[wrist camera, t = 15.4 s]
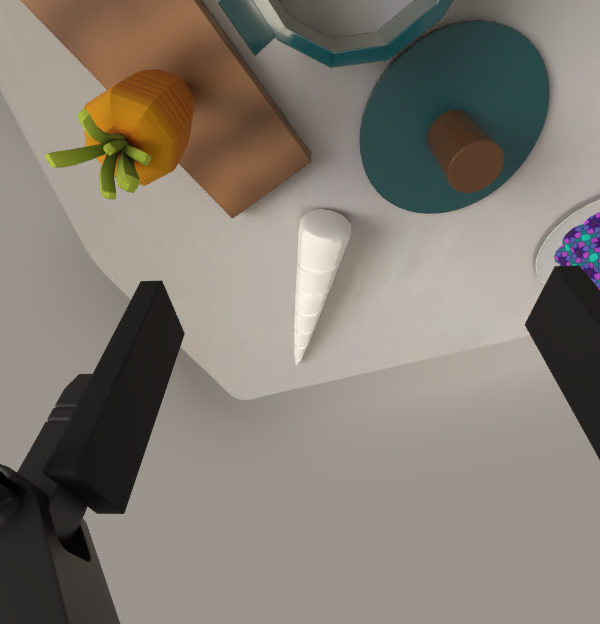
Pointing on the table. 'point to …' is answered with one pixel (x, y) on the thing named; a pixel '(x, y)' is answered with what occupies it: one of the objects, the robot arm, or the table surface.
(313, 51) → the pot
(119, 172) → the carrot
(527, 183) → the table surface
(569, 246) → the pudding
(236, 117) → the board
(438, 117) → the lid
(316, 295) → the unicorn horn
